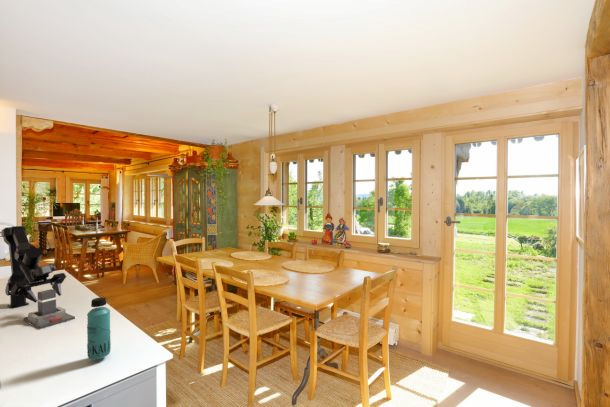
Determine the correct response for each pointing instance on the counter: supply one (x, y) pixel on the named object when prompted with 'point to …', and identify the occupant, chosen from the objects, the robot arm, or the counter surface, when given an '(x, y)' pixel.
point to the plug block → (46, 302)
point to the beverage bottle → (98, 330)
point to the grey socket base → (48, 318)
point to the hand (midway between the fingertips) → (48, 298)
